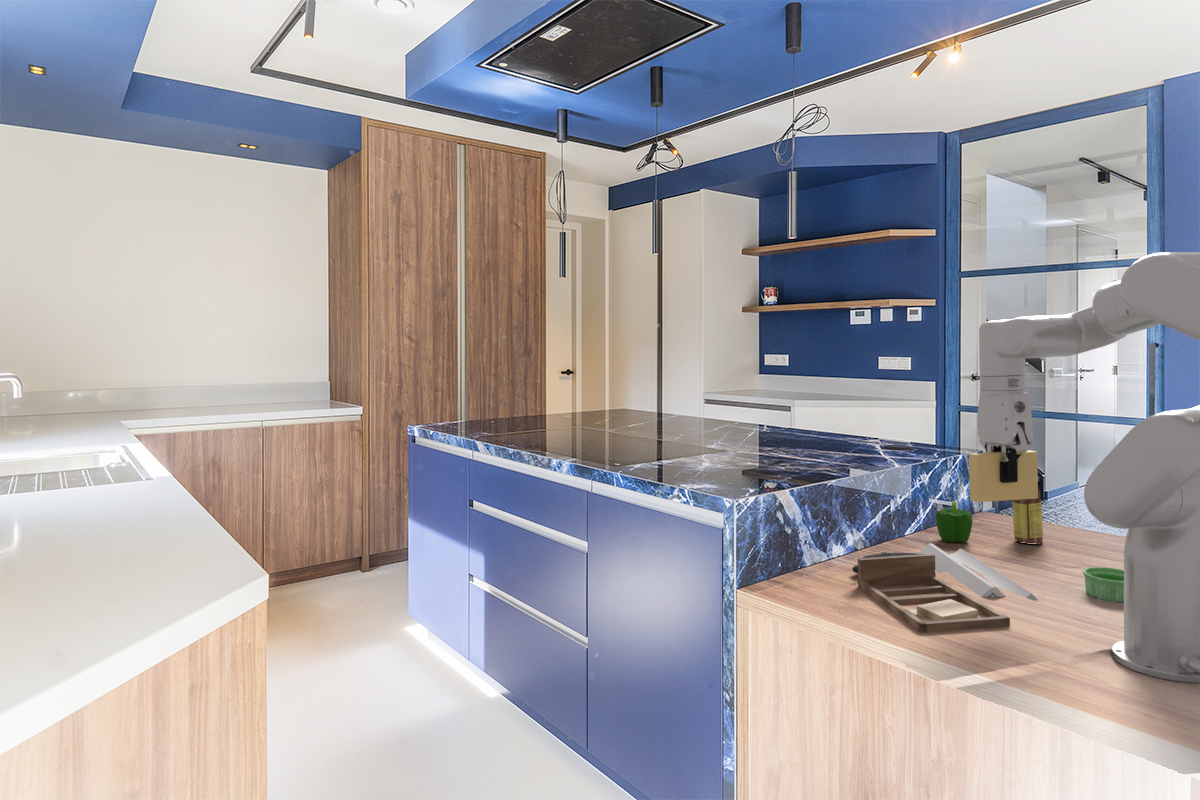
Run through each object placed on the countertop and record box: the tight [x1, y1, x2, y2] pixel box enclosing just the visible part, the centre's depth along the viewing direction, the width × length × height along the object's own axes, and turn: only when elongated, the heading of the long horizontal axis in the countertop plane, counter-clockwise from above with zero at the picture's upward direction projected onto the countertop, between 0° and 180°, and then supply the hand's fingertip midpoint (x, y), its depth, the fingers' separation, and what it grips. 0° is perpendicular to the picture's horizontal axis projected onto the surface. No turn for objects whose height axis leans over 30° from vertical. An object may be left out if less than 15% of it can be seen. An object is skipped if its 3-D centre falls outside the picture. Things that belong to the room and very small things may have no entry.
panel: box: [968, 449, 1039, 503], centre depth 130 cm, size 2×12×9 cm, turn 94°
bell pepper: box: [935, 500, 973, 543], centre depth 174 cm, size 8×8×10 cm
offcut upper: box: [916, 599, 979, 621], centre depth 123 cm, size 6×8×2 cm
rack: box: [857, 554, 1011, 633], centre depth 129 cm, size 24×16×7 cm, turn 4°
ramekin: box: [1082, 566, 1124, 603], centre depth 133 cm, size 9×9×4 cm
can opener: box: [852, 550, 919, 575], centre depth 151 cm, size 18×7×6 cm, turn 105°
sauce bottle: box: [1011, 487, 1044, 544], centre depth 170 cm, size 7×6×20 cm
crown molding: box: [918, 543, 1039, 601], centre depth 147 cm, size 31×12×4 cm, turn 175°
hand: (1003, 479), depth 130 cm, fingers closed on panel, 2 cm apart
